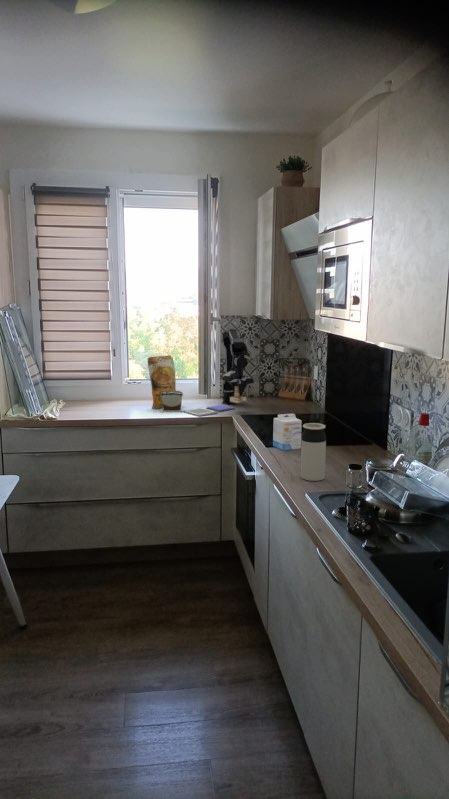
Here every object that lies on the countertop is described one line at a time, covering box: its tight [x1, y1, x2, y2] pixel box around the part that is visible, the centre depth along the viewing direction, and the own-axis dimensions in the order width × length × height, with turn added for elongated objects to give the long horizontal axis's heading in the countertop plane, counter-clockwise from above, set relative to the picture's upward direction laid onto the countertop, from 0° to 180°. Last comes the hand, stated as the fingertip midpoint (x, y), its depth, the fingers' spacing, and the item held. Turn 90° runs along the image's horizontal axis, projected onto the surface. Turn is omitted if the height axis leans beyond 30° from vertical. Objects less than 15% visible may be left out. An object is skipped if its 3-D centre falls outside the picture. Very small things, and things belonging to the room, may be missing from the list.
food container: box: [160, 390, 184, 412], centre depth 295 cm, size 12×6×10 cm, turn 84°
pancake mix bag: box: [147, 354, 177, 409], centre depth 302 cm, size 7×19×28 cm, turn 133°
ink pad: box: [205, 404, 236, 413], centre depth 296 cm, size 11×11×1 cm
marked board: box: [181, 407, 219, 417], centre depth 288 cm, size 12×15×1 cm
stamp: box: [230, 386, 247, 405], centre depth 287 cm, size 6×6×9 cm
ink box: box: [272, 413, 303, 451], centre depth 220 cm, size 9×8×13 cm
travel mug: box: [300, 422, 327, 482], centre depth 182 cm, size 8×8×18 cm
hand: (238, 395), depth 287 cm, fingers closed on stamp, 4 cm apart
